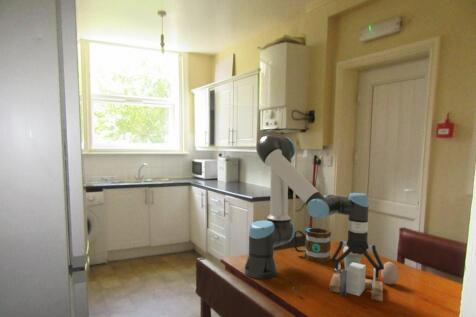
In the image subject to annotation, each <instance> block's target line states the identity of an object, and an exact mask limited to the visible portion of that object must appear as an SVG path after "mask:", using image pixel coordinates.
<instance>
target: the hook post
mask: <svg viewBox="0 0 476 317" xmlns="http://www.w3.org/2000/svg"><path fill="white" fill-rule="evenodd" d="M332 271H333V273H337V274H338V273H340V293H339V296H341V297H345V298H346V297H347V293H346V282H347V270H345V268H344V269H343V268H342V269H341V270H339V269H335V268H333V269H332Z"/></svg>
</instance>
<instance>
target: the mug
mask: <svg viewBox="0 0 476 317" xmlns="http://www.w3.org/2000/svg"><path fill="white" fill-rule="evenodd" d="M297 233H299V234H301V236H302V237H304V238H305V239H304V240H305V242H304V246H305V248H304V249H298V248H297ZM331 234H332V232H331V230H329V229H327V228H321V227H308V228H305V234H304V233H303V231H301V230H295V234H294V237H293V239H294V240H293V242H294V245H293V247H294V249H295V252H298V253H304V258H305V259H306V260H307V261H311V262H315V263H327V262H329V261H331V236H332V235H331Z"/></svg>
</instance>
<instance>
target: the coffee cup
mask: <svg viewBox="0 0 476 317" xmlns="http://www.w3.org/2000/svg"><path fill="white" fill-rule="evenodd" d="M347 249H348V246H347V245H345V246H343V250H342V252H343V253H344V252H345V251H346V250H347ZM361 258H362V254H361V255H360V254H353V253H352V252H350V253H349V254H348V255H347V256H346V257H345V258H344V259H343V261H344V270H347V267H348V266H349V265H350V264H351V263H352V262H354V263H358V264H361Z"/></svg>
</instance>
